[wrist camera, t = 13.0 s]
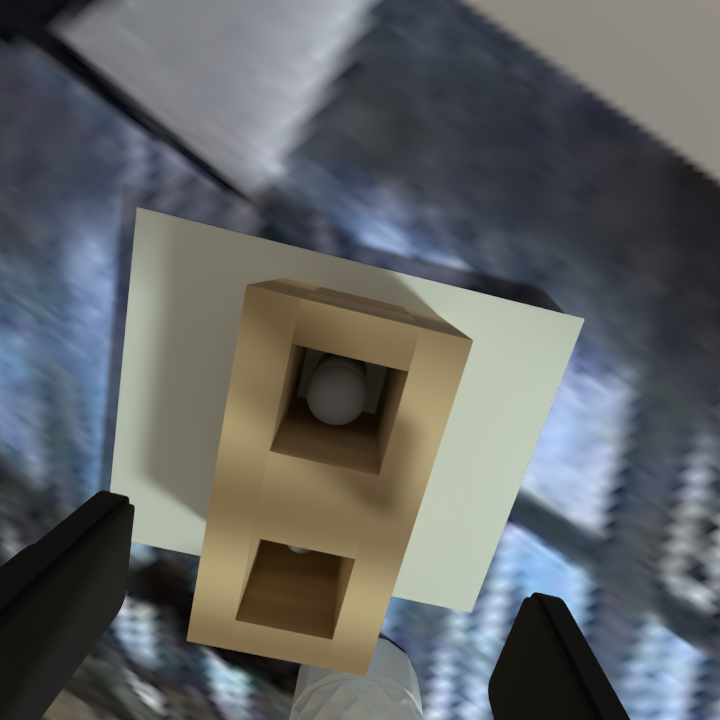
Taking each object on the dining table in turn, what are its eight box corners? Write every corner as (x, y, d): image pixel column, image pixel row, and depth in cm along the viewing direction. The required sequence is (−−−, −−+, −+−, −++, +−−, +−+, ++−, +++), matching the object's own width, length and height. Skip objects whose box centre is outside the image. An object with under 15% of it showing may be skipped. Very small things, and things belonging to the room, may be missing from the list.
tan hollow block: (283, 277, 15) (246, 284, 10) (439, 316, 16) (473, 340, 11) (233, 540, 18) (186, 640, 13) (365, 568, 19) (365, 676, 14)
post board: (565, 314, 17) (670, 340, 11) (463, 587, 21) (502, 715, 15) (157, 211, 16) (41, 184, 10) (124, 516, 20) (25, 621, 14)
